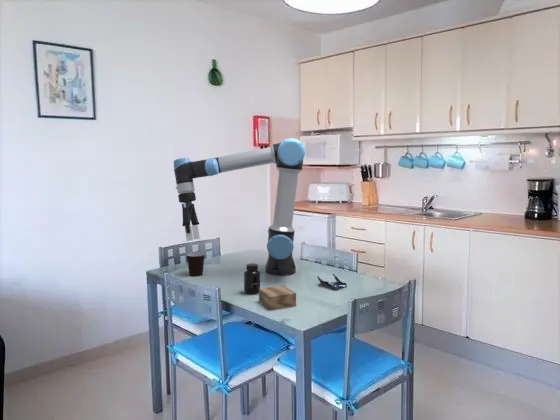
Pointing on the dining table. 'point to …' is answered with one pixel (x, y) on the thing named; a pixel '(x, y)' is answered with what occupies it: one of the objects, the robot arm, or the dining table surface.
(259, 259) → the dining table surface
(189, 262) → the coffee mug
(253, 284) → the supplement bottle
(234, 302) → the dining table surface
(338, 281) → the dark blue angular piece
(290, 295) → the foundation block
